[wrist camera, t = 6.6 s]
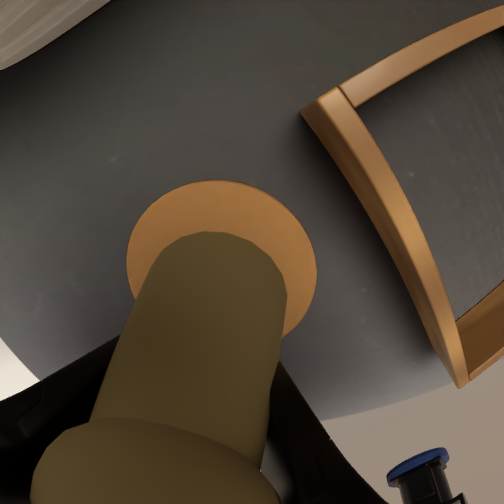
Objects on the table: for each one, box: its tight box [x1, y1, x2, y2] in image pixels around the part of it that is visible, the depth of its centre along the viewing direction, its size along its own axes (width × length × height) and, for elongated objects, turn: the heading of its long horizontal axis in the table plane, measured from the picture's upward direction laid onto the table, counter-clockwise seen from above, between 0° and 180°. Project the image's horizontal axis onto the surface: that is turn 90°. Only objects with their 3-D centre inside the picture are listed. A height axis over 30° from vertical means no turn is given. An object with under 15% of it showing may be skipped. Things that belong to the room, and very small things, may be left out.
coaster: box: [127, 180, 317, 338], centre depth 13 cm, size 9×9×1 cm
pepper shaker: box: [30, 231, 288, 504], centre depth 7 cm, size 6×6×11 cm
